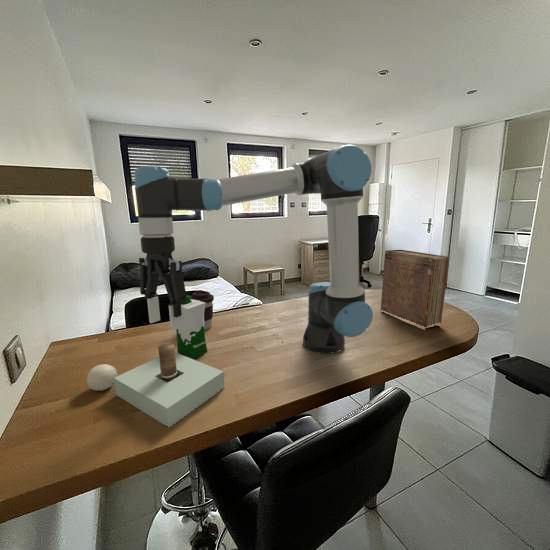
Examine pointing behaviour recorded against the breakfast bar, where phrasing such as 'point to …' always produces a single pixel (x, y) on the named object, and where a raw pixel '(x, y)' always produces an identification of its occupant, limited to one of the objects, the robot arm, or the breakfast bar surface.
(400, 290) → the book
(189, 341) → the milk carton
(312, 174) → the robot arm
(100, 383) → the baseball
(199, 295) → the coffee cup
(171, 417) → the board
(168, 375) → the peg
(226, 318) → the breakfast bar surface
